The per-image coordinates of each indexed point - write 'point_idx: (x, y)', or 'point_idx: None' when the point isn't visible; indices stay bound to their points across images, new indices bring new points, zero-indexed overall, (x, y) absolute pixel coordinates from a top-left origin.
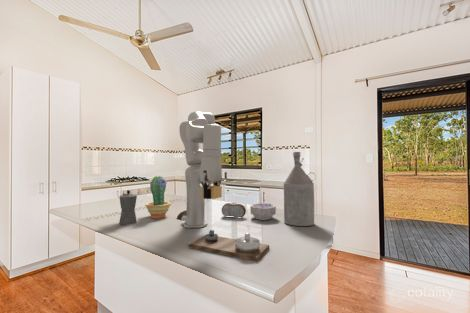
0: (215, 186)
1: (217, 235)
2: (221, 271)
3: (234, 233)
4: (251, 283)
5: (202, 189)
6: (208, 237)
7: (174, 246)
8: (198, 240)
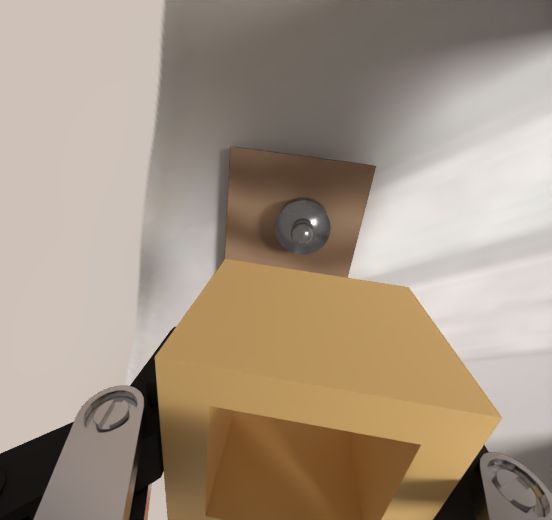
0: (381, 510)
1: (308, 253)
2: (137, 316)
3: (462, 262)
4: (128, 376)
5: (179, 337)
6: (275, 225)
7: (219, 74)
8: (280, 170)
